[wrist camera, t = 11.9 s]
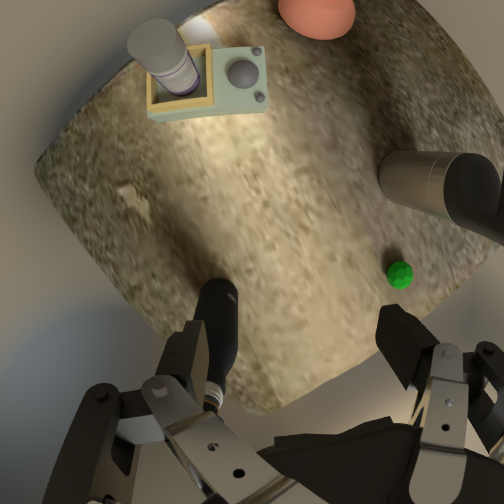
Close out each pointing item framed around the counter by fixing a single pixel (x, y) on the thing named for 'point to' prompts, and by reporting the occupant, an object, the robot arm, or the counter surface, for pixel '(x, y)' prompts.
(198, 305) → the wine bottle
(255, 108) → the grey-green box with tray
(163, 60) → the container
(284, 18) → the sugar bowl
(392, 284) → the polyhedron
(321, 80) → the counter surface
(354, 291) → the counter surface
